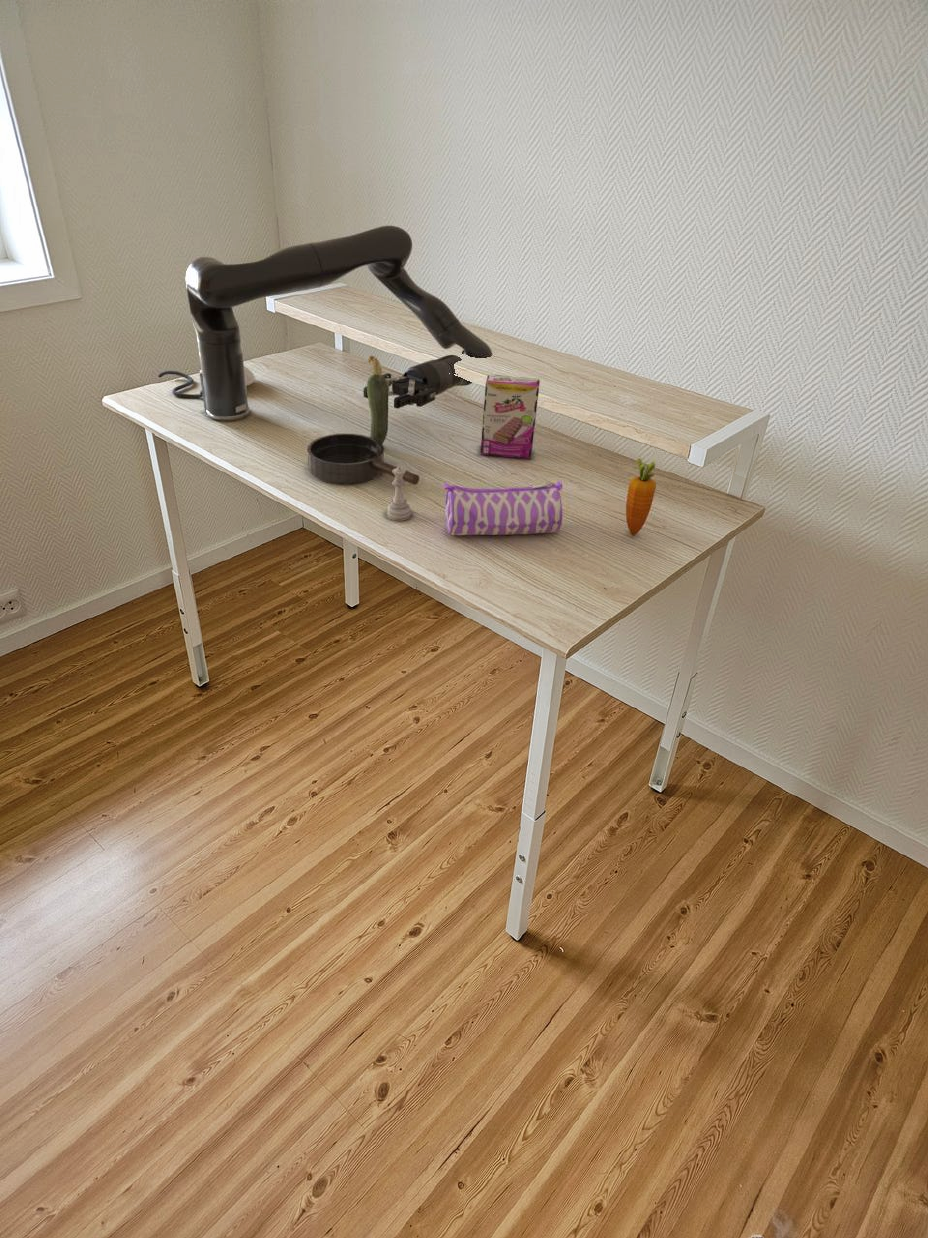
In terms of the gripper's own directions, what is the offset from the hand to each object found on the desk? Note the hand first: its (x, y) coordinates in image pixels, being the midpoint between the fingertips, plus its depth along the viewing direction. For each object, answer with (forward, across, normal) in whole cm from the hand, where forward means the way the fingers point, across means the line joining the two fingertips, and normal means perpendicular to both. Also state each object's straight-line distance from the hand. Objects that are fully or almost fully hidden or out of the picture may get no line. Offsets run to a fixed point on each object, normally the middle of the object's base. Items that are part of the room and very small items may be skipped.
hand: (379, 398), depth 173 cm
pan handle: (+13, +15, +8) cm, 21 cm away
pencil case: (+13, +41, +11) cm, 44 cm away
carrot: (-2, +60, +11) cm, 61 cm away
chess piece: (+21, +23, +11) cm, 33 cm away
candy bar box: (-16, +22, +11) cm, 30 cm away
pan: (+13, +2, +11) cm, 17 cm away
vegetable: (+1, 0, +11) cm, 11 cm away
